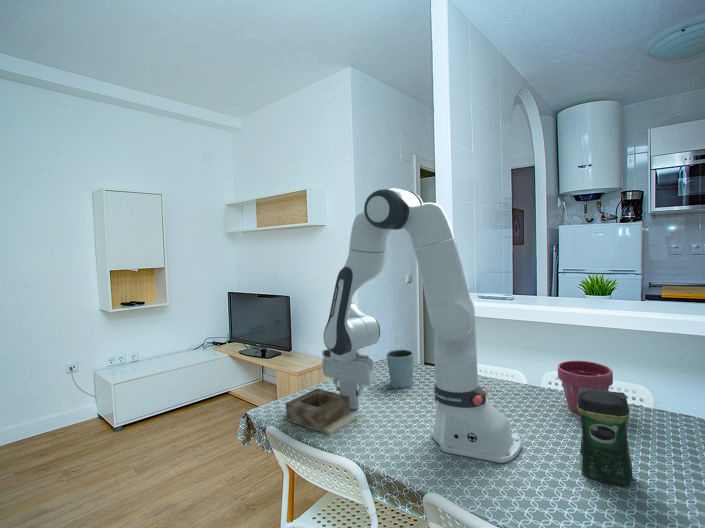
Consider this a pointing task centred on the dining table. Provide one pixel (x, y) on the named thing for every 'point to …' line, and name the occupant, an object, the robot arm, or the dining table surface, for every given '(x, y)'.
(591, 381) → the plant pot
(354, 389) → the skincare box
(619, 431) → the coffee jar
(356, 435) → the dining table surface
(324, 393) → the socket
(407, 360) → the blue-grey flower pot
